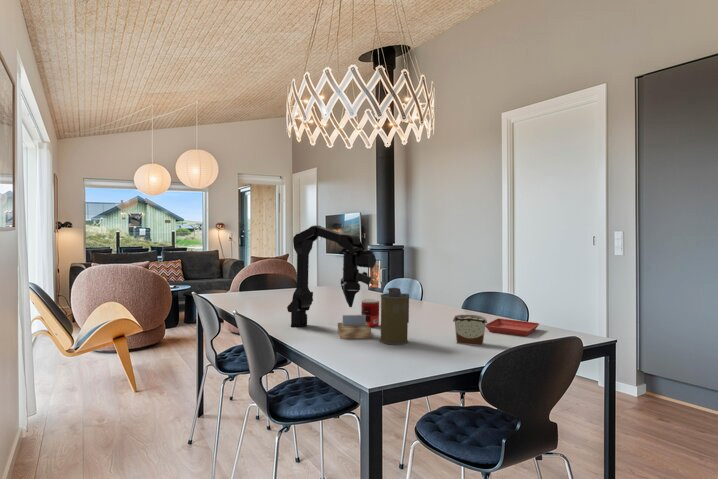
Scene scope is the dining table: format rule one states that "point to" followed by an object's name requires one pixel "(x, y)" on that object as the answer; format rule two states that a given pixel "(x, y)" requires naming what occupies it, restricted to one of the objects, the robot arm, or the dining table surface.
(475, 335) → the food container
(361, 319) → the blue-grey flat block
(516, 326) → the plant saucer
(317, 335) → the dining table surface
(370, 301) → the canned food
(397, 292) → the canister
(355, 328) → the rack
